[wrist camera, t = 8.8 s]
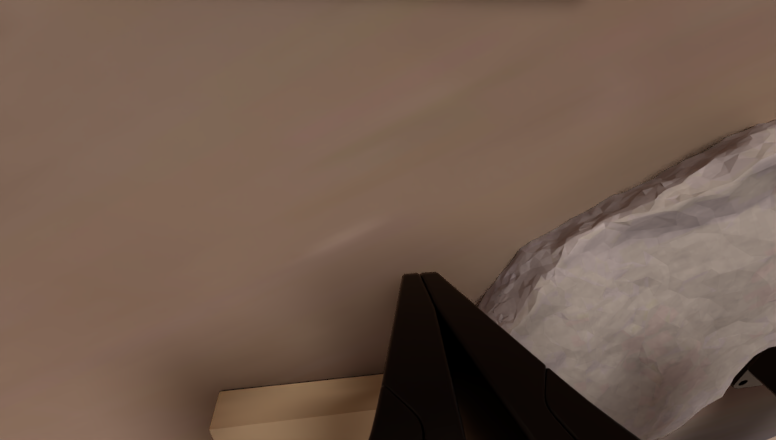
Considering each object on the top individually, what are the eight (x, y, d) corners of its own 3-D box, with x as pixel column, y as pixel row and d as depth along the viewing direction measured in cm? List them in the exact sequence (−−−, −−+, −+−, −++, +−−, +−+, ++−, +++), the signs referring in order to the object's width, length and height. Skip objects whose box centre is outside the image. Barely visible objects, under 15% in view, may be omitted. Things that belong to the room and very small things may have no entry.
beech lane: (641, -237, 7) (716, -295, 5) (471, 396, 17) (483, 428, 16) (-44, -343, 5) (-170, -460, 4) (231, 425, 15) (223, 463, 14)
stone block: (436, 276, 15) (570, 390, 18) (460, 358, 11) (633, 493, 14) (684, 57, 12) (800, 235, 15) (859, 47, 8) (979, 303, 10)
